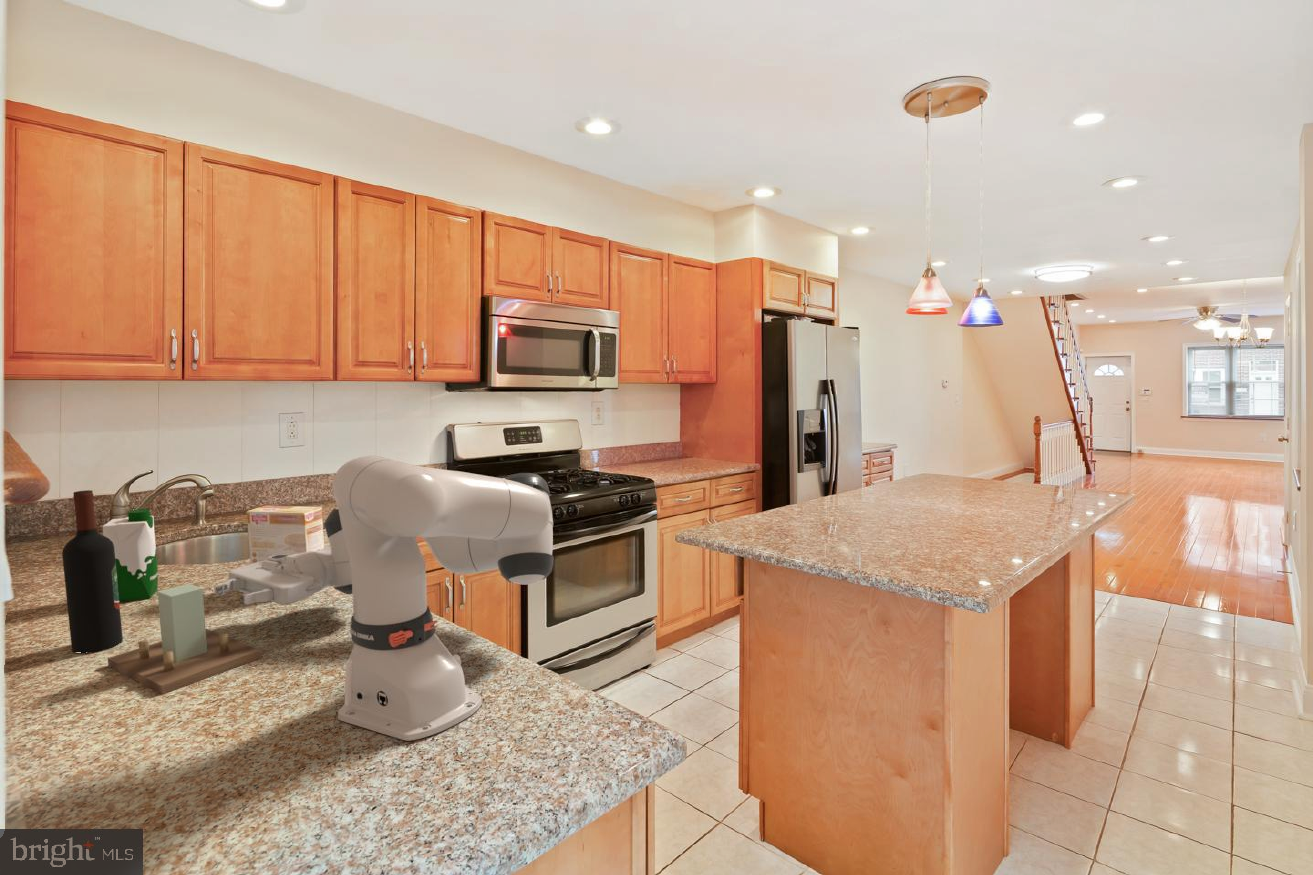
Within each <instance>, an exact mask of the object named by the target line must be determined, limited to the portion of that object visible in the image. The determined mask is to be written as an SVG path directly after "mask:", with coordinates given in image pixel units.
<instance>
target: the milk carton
mask: <svg viewBox="0 0 1313 875" xmlns="http://www.w3.org/2000/svg"><path fill="white" fill-rule="evenodd" d="M127 514H128V516H127V517H122V518H121V517H120V518H112V519H111V520H109V521H108V522H107V523H105V524H103V525H102V535H103V536H105V537H107V538H109V539H110V540H111V541H112V542H113V544H114V551H115V561H116V572H117V583H118V594H119V603H125V602H132V601H140V600H149V599H151V598H152V597H153V596H154V594H156V592H157V590H158V585H159V584H158V582H159V580H158V579H159V576H158V575H159V570H158V557H157V546H156V535H155V520H154V518H155V517H154V515H151V511H150V509H149V508H141V509H140V508H139V509H133V510H129V511H128V512H127Z"/></svg>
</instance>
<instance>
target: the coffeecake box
mask: <svg viewBox="0 0 1313 875" xmlns="http://www.w3.org/2000/svg"><path fill="white" fill-rule="evenodd" d="M246 518H247V520H246V521H247V532H248V533H247V534H248V547H249V548H248V550H249V564H252V563H256V562H260V561H268V557H270V556H274V555H294V554H300V553H304V552H308V551H319V550H321V549H323V548H325V542H324V540H325V539H324V522H323V521H324V520H323V507H322V506H299V505H296V506H294V505H262V506H259V507H255V508H252V509H249V510H247V511H246Z"/></svg>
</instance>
